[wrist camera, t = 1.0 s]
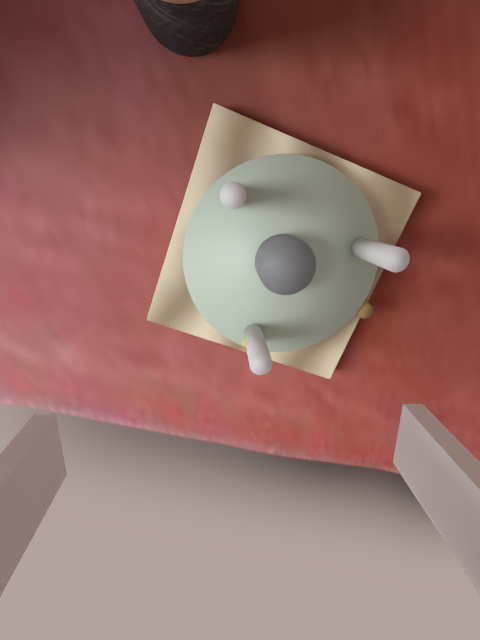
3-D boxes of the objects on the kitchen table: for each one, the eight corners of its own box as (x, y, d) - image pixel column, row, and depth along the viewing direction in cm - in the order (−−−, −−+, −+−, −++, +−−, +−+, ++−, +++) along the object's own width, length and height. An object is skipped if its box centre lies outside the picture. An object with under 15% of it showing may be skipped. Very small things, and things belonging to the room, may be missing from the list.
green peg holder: (160, 314, 32) (142, 348, 24) (221, 121, 27) (222, 93, 20) (325, 368, 34) (353, 413, 27) (406, 200, 30) (466, 200, 22)
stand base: (150, 313, 34) (143, 324, 31) (213, 109, 29) (213, 98, 26) (326, 370, 37) (335, 386, 34) (411, 194, 32) (432, 193, 29)
